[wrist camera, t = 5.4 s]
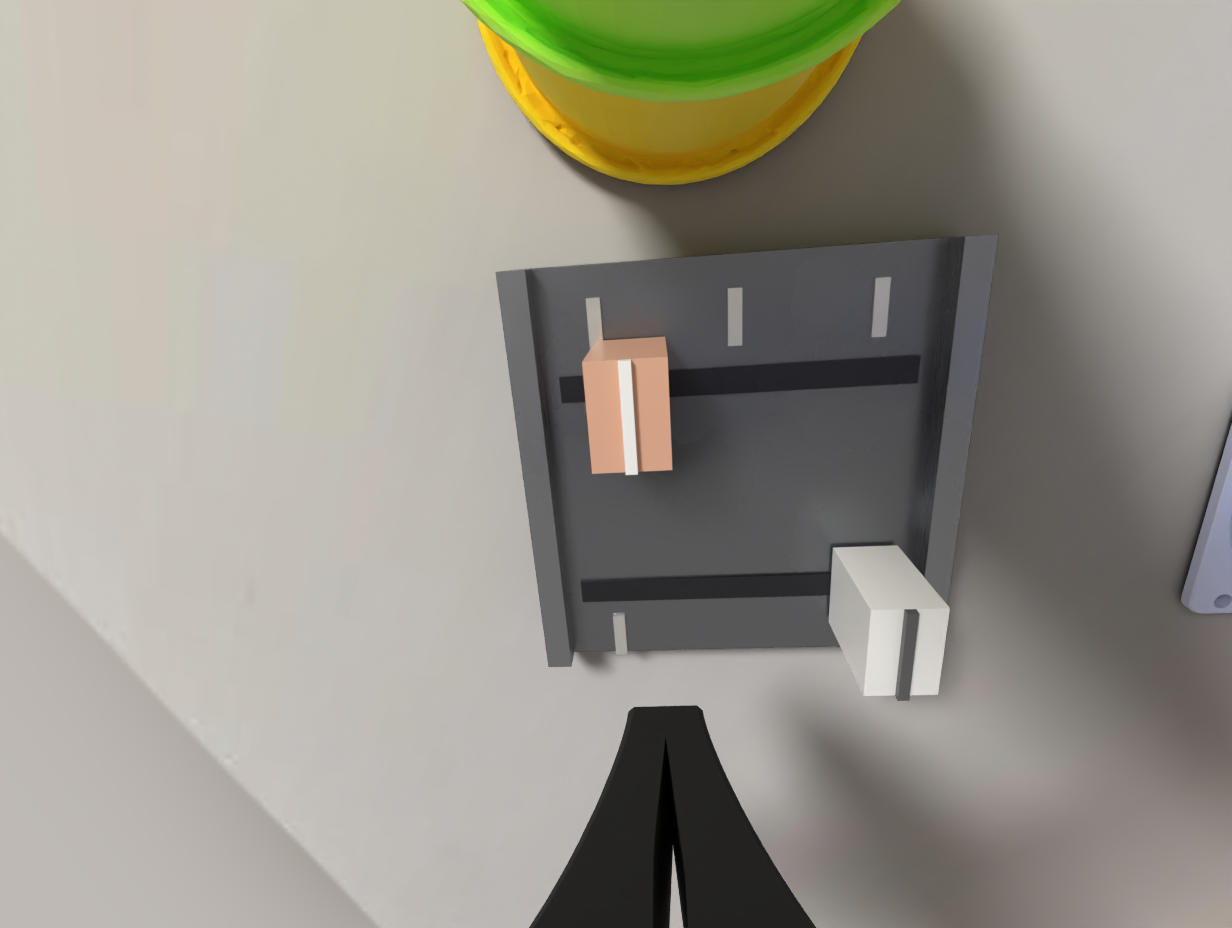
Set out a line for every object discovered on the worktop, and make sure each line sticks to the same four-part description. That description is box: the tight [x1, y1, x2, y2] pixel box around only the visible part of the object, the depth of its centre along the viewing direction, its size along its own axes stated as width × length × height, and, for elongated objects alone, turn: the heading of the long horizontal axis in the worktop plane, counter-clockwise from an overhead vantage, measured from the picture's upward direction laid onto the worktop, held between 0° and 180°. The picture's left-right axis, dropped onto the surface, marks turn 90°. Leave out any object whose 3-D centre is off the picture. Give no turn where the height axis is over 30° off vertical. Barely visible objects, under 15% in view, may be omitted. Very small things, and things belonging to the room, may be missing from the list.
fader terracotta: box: [582, 337, 672, 475], centre depth 16 cm, size 2×3×4 cm
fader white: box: [829, 545, 950, 701], centre depth 17 cm, size 2×3×4 cm
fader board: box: [496, 234, 998, 667], centre depth 18 cm, size 13×13×2 cm
